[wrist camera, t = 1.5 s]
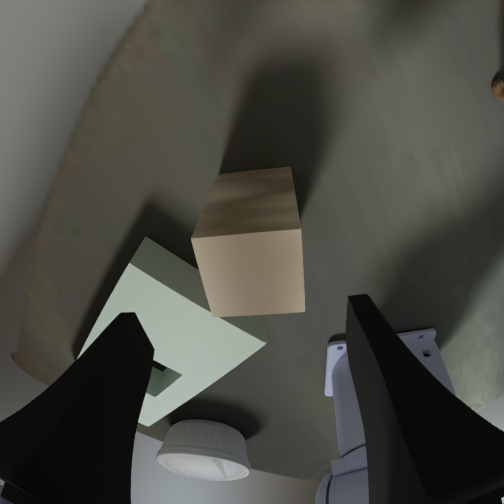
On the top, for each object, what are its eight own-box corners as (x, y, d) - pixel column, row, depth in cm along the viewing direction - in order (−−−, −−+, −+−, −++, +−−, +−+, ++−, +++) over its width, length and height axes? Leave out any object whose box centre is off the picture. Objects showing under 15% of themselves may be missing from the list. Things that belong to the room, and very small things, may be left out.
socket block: (145, 235, 20) (129, 263, 18) (267, 312, 23) (266, 343, 20) (75, 362, 29) (65, 384, 27) (154, 404, 32) (148, 426, 30)
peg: (290, 166, 17) (300, 228, 11) (296, 230, 19) (305, 311, 13) (218, 174, 18) (190, 238, 12) (230, 235, 20) (212, 317, 14)
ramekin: (269, 440, 36) (268, 476, 32) (206, 452, 40) (202, 483, 36) (210, 405, 31) (203, 448, 27) (147, 421, 36) (138, 456, 31)
